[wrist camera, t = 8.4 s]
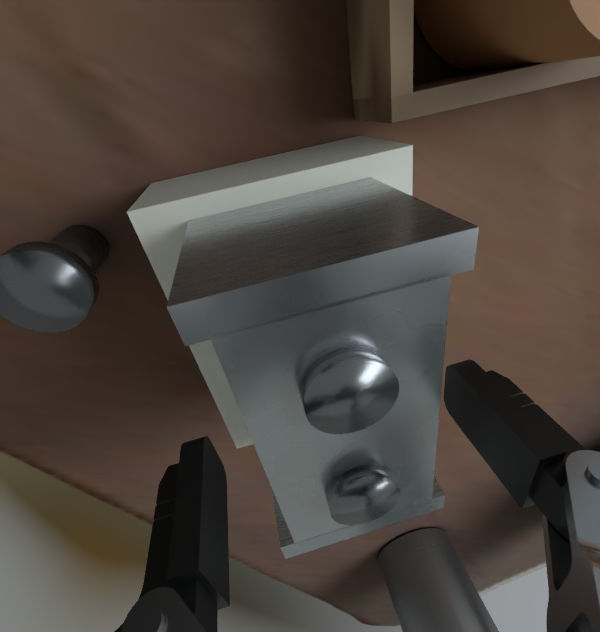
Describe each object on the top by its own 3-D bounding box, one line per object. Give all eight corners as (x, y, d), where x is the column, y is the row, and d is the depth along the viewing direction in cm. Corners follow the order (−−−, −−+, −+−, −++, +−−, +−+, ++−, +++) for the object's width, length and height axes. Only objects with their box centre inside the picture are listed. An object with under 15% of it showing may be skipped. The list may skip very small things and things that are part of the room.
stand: (375, 345, 23) (410, 397, 19) (233, 385, 22) (236, 448, 18) (361, 134, 16) (412, 145, 12) (151, 183, 15) (126, 212, 11)
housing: (370, 177, 12) (498, 236, 7) (382, 400, 19) (452, 523, 13) (188, 220, 12) (162, 323, 6) (266, 433, 18) (288, 576, 13)
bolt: (134, 267, 17) (107, 319, 13) (70, 283, 17) (21, 342, 13) (102, 204, 15) (59, 241, 11) (29, 221, 15) (-42, 265, 11)
